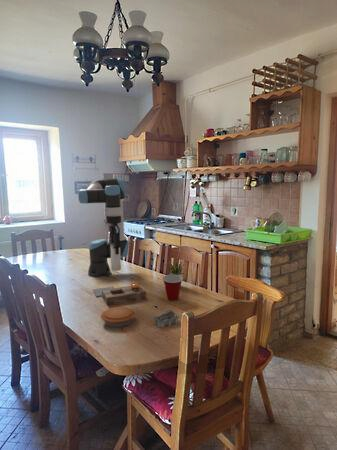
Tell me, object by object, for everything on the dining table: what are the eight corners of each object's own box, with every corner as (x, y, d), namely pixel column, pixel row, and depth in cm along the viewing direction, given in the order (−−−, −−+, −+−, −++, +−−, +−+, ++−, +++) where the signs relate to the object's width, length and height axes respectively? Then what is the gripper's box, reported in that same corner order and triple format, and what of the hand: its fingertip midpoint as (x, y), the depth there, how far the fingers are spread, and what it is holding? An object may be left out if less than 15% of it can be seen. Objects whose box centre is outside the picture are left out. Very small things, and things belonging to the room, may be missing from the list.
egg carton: (172, 317, 148) (172, 308, 147) (180, 323, 141) (180, 314, 141) (151, 322, 143) (151, 313, 143) (158, 329, 136) (158, 320, 136)
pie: (136, 313, 152) (136, 303, 151) (134, 328, 137) (134, 317, 136) (104, 314, 152) (104, 304, 151) (98, 330, 136) (97, 319, 136)
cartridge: (110, 268, 170) (109, 243, 168) (119, 267, 172) (118, 242, 170) (112, 271, 166) (111, 244, 164) (122, 269, 168) (121, 244, 166)
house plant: (192, 283, 194) (192, 257, 192) (187, 291, 181) (187, 263, 178) (170, 282, 198) (169, 256, 195) (163, 289, 185) (163, 262, 182)
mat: (92, 290, 186) (92, 289, 186) (113, 287, 190) (112, 286, 190) (96, 297, 175) (96, 296, 175) (117, 293, 179) (117, 292, 179)
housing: (102, 297, 175) (101, 290, 174) (138, 291, 182) (138, 284, 182) (107, 305, 163) (106, 298, 162) (146, 298, 171) (145, 291, 170)
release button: (130, 293, 176) (130, 283, 175) (138, 292, 178) (137, 282, 177) (132, 295, 172) (132, 286, 171) (140, 294, 174) (140, 285, 173)
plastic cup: (165, 304, 163) (165, 281, 161) (160, 296, 173) (160, 275, 172) (185, 301, 166) (185, 279, 164) (179, 294, 176) (179, 273, 174)
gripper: (103, 214, 172) (105, 256, 175) (110, 217, 155) (112, 263, 159) (116, 213, 174) (118, 254, 178) (125, 216, 158) (127, 262, 161)
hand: (115, 258), depth 168 cm, fingers closed on cartridge, 5 cm apart
